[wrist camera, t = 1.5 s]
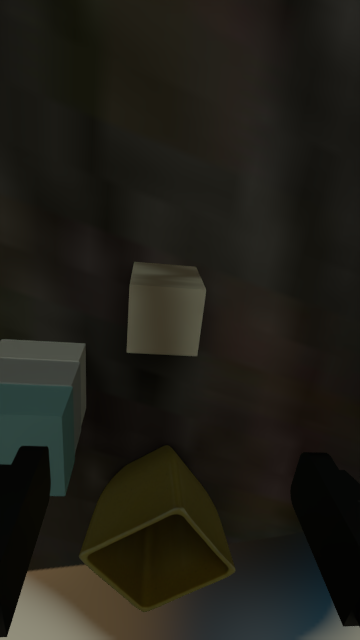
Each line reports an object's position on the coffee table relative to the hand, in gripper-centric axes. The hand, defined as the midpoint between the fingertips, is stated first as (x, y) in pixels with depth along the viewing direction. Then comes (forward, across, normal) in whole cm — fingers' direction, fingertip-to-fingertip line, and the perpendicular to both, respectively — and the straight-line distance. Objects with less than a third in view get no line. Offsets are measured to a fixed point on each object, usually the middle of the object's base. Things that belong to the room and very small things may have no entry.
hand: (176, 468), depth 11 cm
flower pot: (+17, -1, +18) cm, 25 cm away
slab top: (+11, +9, +8) cm, 16 cm away
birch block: (+17, 0, 0) cm, 17 cm away
